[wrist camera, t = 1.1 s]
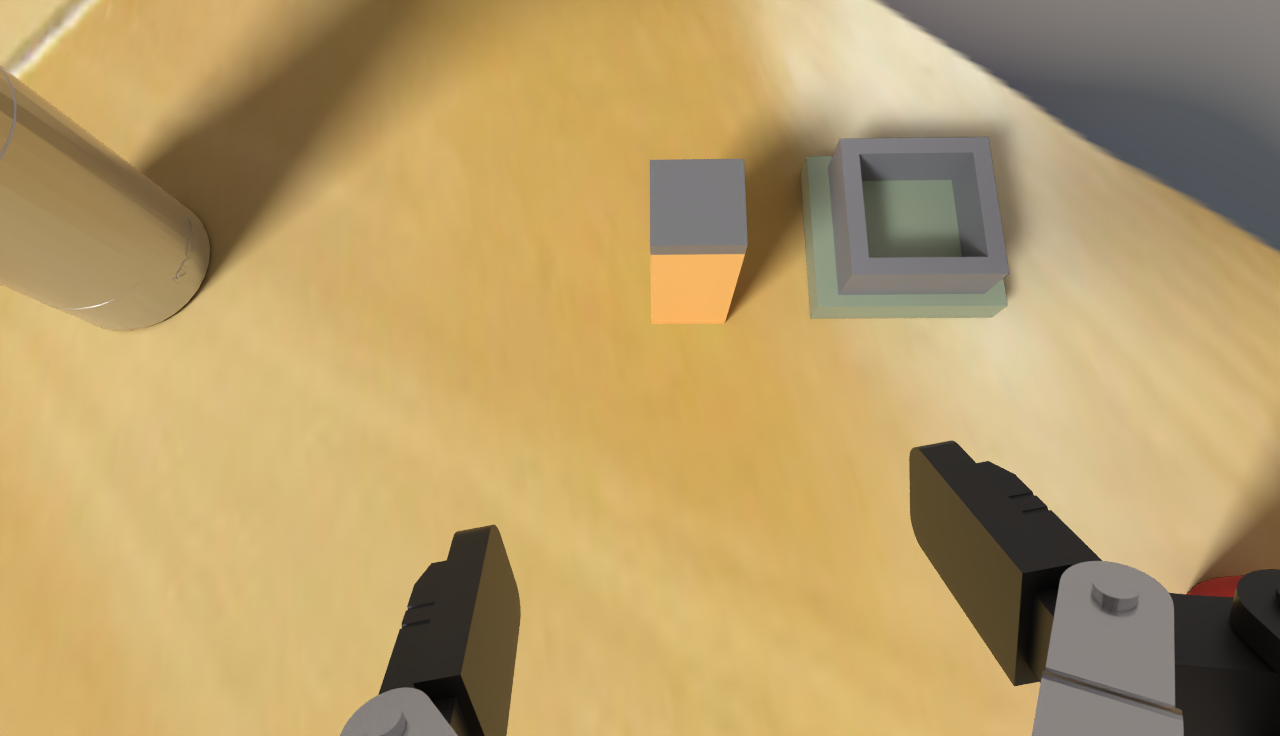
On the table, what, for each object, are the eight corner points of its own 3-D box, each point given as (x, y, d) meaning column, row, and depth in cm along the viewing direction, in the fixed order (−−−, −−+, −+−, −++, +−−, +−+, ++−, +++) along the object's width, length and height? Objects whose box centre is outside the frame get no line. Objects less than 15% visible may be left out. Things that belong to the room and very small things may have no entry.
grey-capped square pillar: (651, 323, 43) (650, 245, 32) (651, 256, 44) (649, 160, 34) (724, 323, 43) (747, 244, 32) (722, 255, 44) (744, 158, 33)
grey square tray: (810, 318, 43) (830, 287, 38) (800, 173, 45) (817, 127, 41) (991, 317, 43) (1034, 286, 38) (970, 171, 45) (1008, 125, 40)
